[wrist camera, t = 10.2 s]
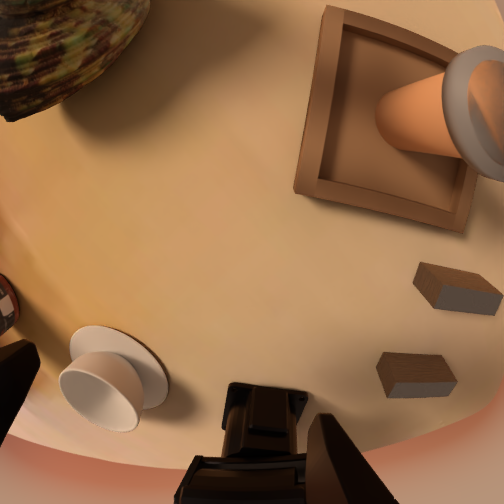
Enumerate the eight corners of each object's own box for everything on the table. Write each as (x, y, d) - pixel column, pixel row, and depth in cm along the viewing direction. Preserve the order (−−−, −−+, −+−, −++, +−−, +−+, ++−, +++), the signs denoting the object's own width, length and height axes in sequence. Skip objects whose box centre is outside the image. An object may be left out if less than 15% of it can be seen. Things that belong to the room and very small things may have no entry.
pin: (429, 167, 15) (534, 199, 7) (360, 147, 15) (444, 157, 7) (440, 97, 14) (545, 83, 5) (372, 71, 14) (456, 21, 5)
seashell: (32, 23, 13) (-56, 2, 4) (156, -54, 11) (95, -128, 2) (51, 130, 17) (-61, 143, 7) (194, 52, 15) (116, -23, 5)
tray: (449, 225, 17) (462, 233, 15) (293, 188, 17) (295, 193, 16) (474, 74, 13) (489, 71, 12) (321, 16, 13) (326, 4, 12)
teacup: (71, 304, 22) (40, 334, 17) (179, 351, 22) (162, 393, 18) (74, 379, 25) (53, 408, 21) (161, 418, 26) (148, 454, 21)
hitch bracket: (433, 369, 21) (447, 396, 18) (375, 367, 21) (387, 398, 18) (478, 274, 18) (503, 295, 15) (420, 261, 18) (443, 284, 15)
